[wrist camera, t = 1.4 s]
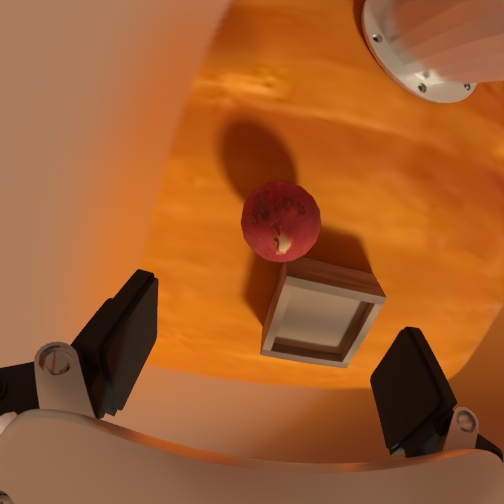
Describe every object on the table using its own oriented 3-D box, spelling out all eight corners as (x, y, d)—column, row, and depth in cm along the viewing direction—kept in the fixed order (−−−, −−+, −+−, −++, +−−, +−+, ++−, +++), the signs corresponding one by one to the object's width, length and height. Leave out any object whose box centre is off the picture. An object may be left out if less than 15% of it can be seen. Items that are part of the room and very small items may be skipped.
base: (285, 252, 25) (286, 275, 22) (373, 273, 26) (386, 297, 22) (262, 327, 29) (260, 354, 26) (340, 341, 30) (346, 368, 26)
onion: (233, 195, 24) (213, 227, 16) (293, 161, 22) (301, 178, 15) (268, 249, 26) (264, 300, 18) (325, 220, 24) (345, 262, 17)
